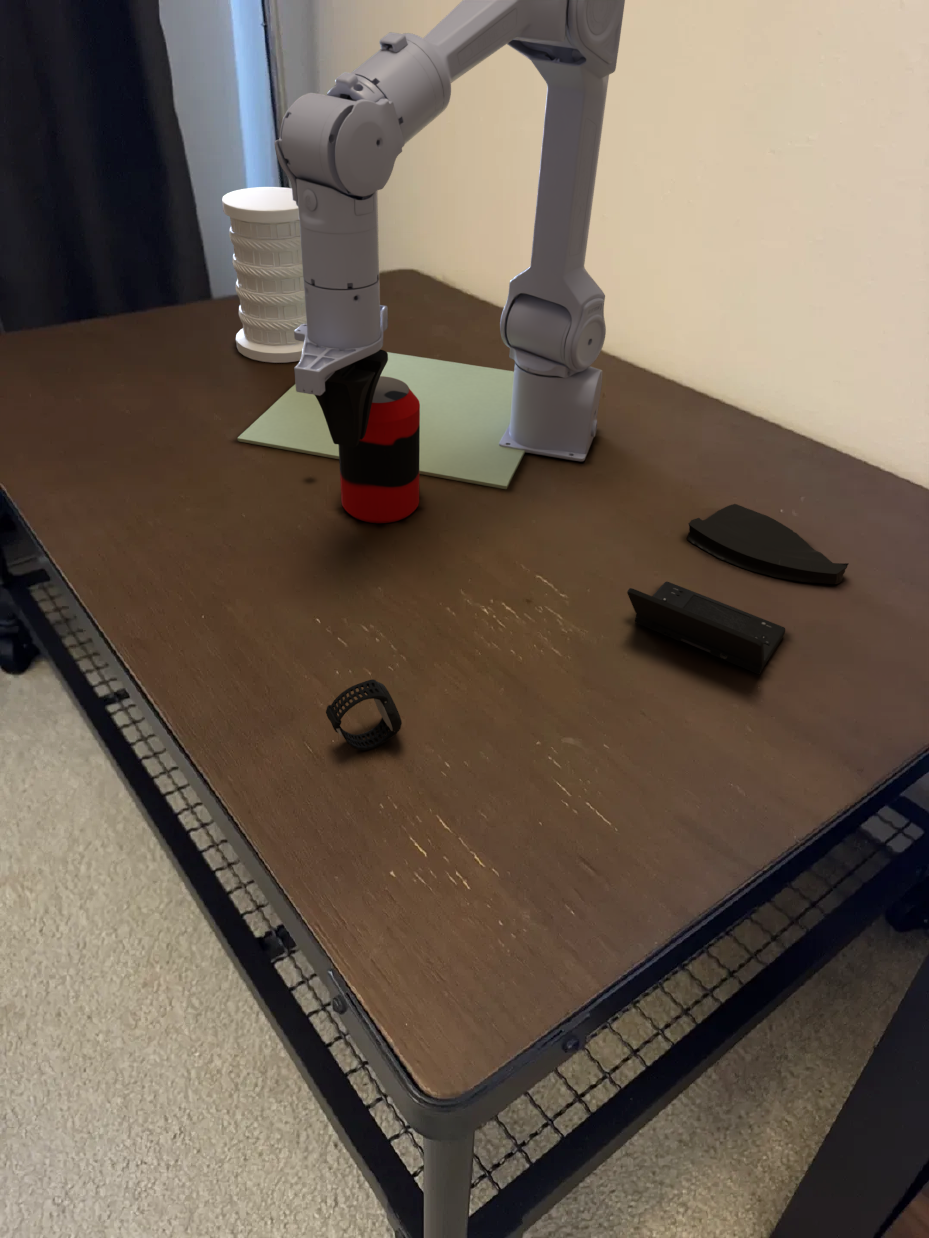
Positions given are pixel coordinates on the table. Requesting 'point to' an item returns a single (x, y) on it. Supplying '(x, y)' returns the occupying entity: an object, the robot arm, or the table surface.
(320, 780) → the table surface
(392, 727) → the smartwatch
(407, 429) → the soda can
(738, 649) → the handheld gaming console
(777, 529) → the curved wedge
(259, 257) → the decorative container
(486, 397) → the mat
